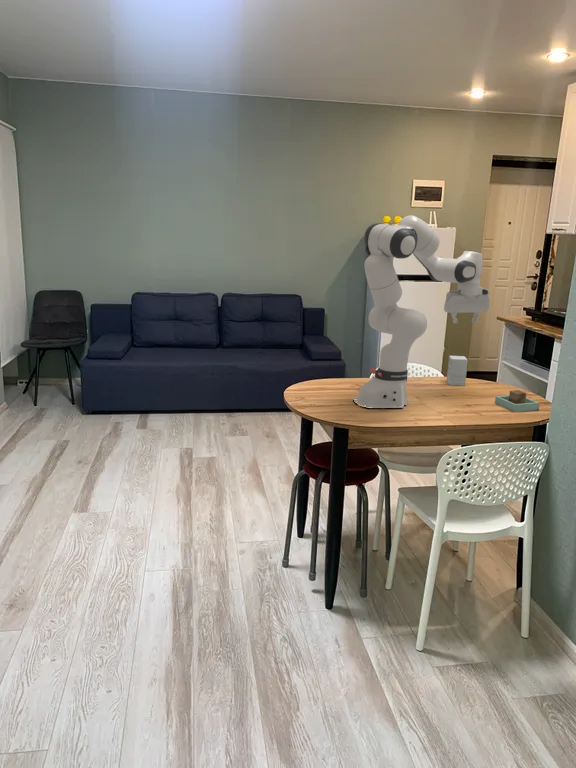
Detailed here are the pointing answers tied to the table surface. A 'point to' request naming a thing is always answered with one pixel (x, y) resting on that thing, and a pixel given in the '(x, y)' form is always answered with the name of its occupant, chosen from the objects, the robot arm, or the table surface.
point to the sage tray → (526, 406)
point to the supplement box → (457, 370)
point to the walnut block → (517, 397)
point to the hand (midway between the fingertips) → (464, 322)
